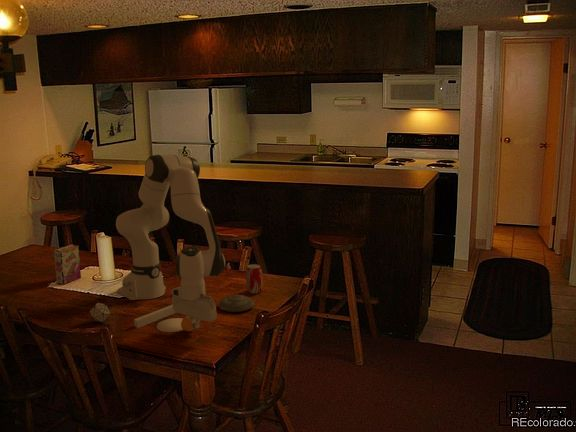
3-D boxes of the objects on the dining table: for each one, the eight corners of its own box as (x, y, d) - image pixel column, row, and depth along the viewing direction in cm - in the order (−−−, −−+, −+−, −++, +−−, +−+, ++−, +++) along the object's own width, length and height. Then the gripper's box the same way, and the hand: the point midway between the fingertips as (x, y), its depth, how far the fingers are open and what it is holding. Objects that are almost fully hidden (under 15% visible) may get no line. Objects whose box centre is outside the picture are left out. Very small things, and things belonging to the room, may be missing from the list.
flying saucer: (241, 317, 233) (241, 304, 232) (210, 310, 240) (210, 298, 239) (261, 304, 246) (261, 292, 245) (231, 299, 253) (231, 287, 252)
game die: (98, 329, 232) (91, 306, 235) (118, 321, 232) (111, 298, 235) (88, 327, 223) (81, 303, 226) (108, 319, 223) (102, 294, 226)
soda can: (260, 295, 256) (259, 268, 254) (244, 294, 258) (243, 268, 255) (264, 289, 263) (263, 264, 260) (249, 288, 264) (248, 263, 262)
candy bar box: (64, 285, 273) (60, 251, 269) (56, 283, 275) (52, 250, 271) (82, 278, 282) (78, 245, 279) (74, 276, 285) (71, 244, 281)
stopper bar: (134, 326, 225) (134, 319, 224) (174, 310, 240) (174, 303, 239) (137, 328, 224) (137, 320, 223) (178, 311, 239) (177, 304, 238)
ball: (185, 336, 218) (176, 326, 220) (196, 331, 222) (187, 321, 224) (189, 326, 215) (180, 316, 217) (200, 321, 219) (191, 311, 222)
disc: (149, 326, 225) (149, 326, 225) (175, 316, 235) (175, 315, 235) (171, 335, 217) (171, 334, 217) (198, 323, 227) (197, 323, 227)
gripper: (219, 294, 211) (221, 330, 213) (181, 284, 223) (183, 319, 226) (206, 299, 206) (209, 336, 209) (168, 289, 218) (171, 324, 221)
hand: (195, 327), depth 217 cm, fingers closed
